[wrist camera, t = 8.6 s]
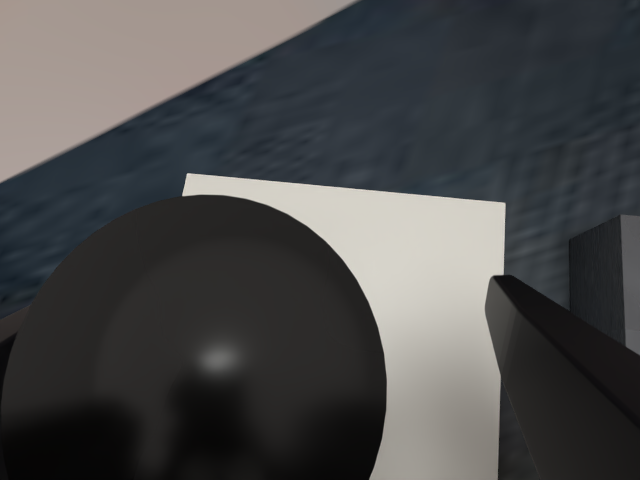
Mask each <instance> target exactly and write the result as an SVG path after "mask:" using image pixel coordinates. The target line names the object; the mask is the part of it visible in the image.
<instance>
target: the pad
mask: <svg viewBox="0 0 640 480" xmlns="http://www.w3.org/2000/svg"><path fill="white" fill-rule="evenodd" d="M201 194H203V195H226V196H233V197H239V198H245V199H249V200H252V201H256V202H259V203H262V204H266V205H269V206H271V207H273V208H275V209H277V210H280V211H282V212H284V213H286V214H288V215H290V216H292V217H293V218H295V219H297V220H298V221H300V222H301V223H303V224H305V225H306V226H308V227H309V228H310V229H311V230H313V231H314V232H315V233H316V234H318V235H319V236H320V237H321V238H322V239H324V240H325V241H326V242H327V243H328V244H329V245H330V246H331V247H332V248H333V250H334V251H335V252H336V253H337V254H338V255H339V256H340V257H341V258H342V259H343V261H344V262H345V263H346V265H347V266H348V268H349V269H350V271H351V272H352V273H353V275H354V276H355V278H356V279H357V281H358V283H359V285H360V286H361V288H362V290H363V292H364V294H365V296H366V298H367V300H368V302H369V304H370V307H371V310H372V312H373V315H374V318H375V320H376V323H377V326H378V329H379V334H380V338H381V342H382V346H383V351H384V357H385V367H386V376H387V403H386V415H385V422H384V429H383V436H382V441H381V444H380V448H379V451H378V455H377V459H376V462H375V466H374V469H373V471H372V474H371V476H370V478H369V480H498V450H499V415H500V379H501V375H500V371H499V368H498V364H497V360H496V356H495V352H494V348H493V344H492V340H491V336H490V332H489V328H488V324H487V320H486V316H485V301H486V295H487V290H488V284H489V280H490V278H491V277H492V276H493V275H503V272H504V236H505V203H500V202H489V201H478V200H467V199H457V198H446V197H435V196H425V195H414V194H403V193H392V192H382V191H371V190H360V189H350V188H339V187H328V186H317V185H307V184H296V183H285V182H274V181H264V180H253V179H242V178H232V177H221V176H210V175H199V174H189V173H187V177H186V182H185V186H184V190H183V195H182V196H190V195H201Z"/></svg>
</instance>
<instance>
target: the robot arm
mask: <svg viewBox="0 0 640 480" xmlns="http://www.w3.org/2000/svg"><path fill="white" fill-rule="evenodd" d="M29 307H30V306H28V307H26V308H24V309H22V310H20V311H18V312H16V313H14V314H11V315H9V316H7V317H5V318H3V319H1V320H0V480H9V479H8V475H7V471H6V467H5V462H4V457H3V448H2V440H1V400H2V392H3V384H4V377H5V373H6V369H7V365H8V360H9V356H10V353H11V350H12V347H13V344H14V341H15V339H16V336H17V333H18V330H19V328H20V326H21V324H22V322H23V320H24V317H25V315H26V313H27V311H28V309H29ZM485 316H486V320H487V324H488V328H489V332H490V336H491V340H492V344H493V348H494V352H495V356H496V360H497V364H498V368H499V371H500V375H501V378H502V381H503V384H504V387H505V389H506V392H507V395H508V397H509V400H510V402H511V405H512V408H513V410H514V413H515V415H516V418H517V421H518V423H519V426H520V428H521V431H522V434H523V436H524V439H525V441H526V444H527V446H528V449H529V452H530V454H531V457H532V459H533V462H534V465H535V467H536V470H537V472H538V475H539V478H540V480H640V355H639V354H637V353H635V352H634V351H632V350H631V349H629V348H627V347H626V346H624V345H623V344H621V343H619V342H618V341H616V340H615V339H613V338H611V337H610V336H608V335H607V334H605V333H603V332H602V331H600V330H599V329H597V328H595V327H594V326H592V325H591V324H589V323H587V322H586V321H584V320H583V319H581V318H579V317H578V316H576V315H575V314H573V313H571V312H570V311H568V310H567V309H565V308H563V307H562V306H560V305H559V304H557V303H555V302H554V301H552V300H551V299H549V298H548V297H546V296H544V295H543V294H541V293H540V292H538V291H536V290H535V289H533V288H532V287H530V286H528V285H527V284H525V283H524V282H522V281H520V280H519V279H517V278H516V277H514V276H512V275H493V276H492V277H491V278H490V280H489V284H488V290H487V295H486V301H485Z"/></svg>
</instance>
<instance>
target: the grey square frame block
mask: <svg viewBox="0 0 640 480" xmlns="http://www.w3.org/2000/svg"><path fill="white" fill-rule="evenodd" d="M570 312H571V313H573V314H575V315H576V316H578V317H579V318H581V319H583V320H584V321H586V322H587V323H589V324H591V325H592V326H594V327H595V328H597V329H599V330H600V331H602V332H603V333H605V334H607V335H608V336H610V337H611V338H613V339H615V340H616V341H618V342H619V343H621V344H623V345H624V346H626V347H627V348H629V349H631V350H632V351H634V352H635V353H637V354H639V355H640V216H630V215H619V216H617V217H615V218H613V219H611V220H609V221H607V222H605V223H602V224H600V225H598V226H596V227H594V228H592V229H590V230H588V231H586V232H584V233H582V234H580V235H578V236H576V237H574V238H572V239H570Z"/></svg>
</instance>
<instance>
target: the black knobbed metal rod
mask: <svg viewBox="0 0 640 480" xmlns="http://www.w3.org/2000/svg"><path fill="white" fill-rule="evenodd" d="M386 403H387V376H386V367H385V357H384V351H383V346H382V342H381V338H380V334H379V329H378V326H377V323H376V320H375V318H374V315H373V312H372V310H371V307H370V304H369V302H368V300H367V298H366V296H365V294H364V292H363V290H362V288H361V286H360V285H359V283H358V281H357V279H356V278H355V276H354V275H353V273H352V272H351V271H350V269H349V268H348V266H347V265H346V263H345V262H344V261H343V259H342V258H341V257H340V256H339V255H338V254H337V253H336V252H335V251H334V250H333V248H332V247H331V246H330V245H329V244H328V243H327V242H326V241H325V240H324V239H322V238H321V237H320V236H319V235H318V234H316V233H315V232H314V231H313V230H311V229H310V228H309V227H308V226H306V225H305V224H303V223H301V222H300V221H298V220H297V219H295V218H293V217H292V216H290V215H288V214H286V213H284V212H282V211H280V210H277V209H275V208H273V207H271V206H269V205H266V204H262V203H259V202H256V201H252V200H249V199H245V198H239V197H233V196H226V195H203V194H201V195H190V196H180V197H175V198H171V199H166V200H162V201H157V202H154V203H152V204H149V205H146V206H143V207H140V208H137V209H135V210H133V211H131V212H129V213H127V214H125V215H123V216H121V217H119V218H117V219H115V220H113V221H111V222H110V223H108V224H107V225H105V226H104V227H102V228H101V229H99V230H97V231H96V232H94V233H93V234H92V235H91V236H90V237H88V238H87V239H86V240H85V241H83V242H82V243H81V244H80V245H79V246H77V247H76V248H75V249H74V250H73V251H72V252H71V253H70V254H69V255H68V256H67V257H66V258H65V259H64V260H63V261H62V262H61V263H60V264H59V265H58V267H57V268H56V269H55V271H54V272H53V273H52V274H51V276H50V277H49V278H48V279H47V281H46V282H45V283H44V285H43V286H42V288H41V289H40V291H39V293H38V294H37V296H36V297H35V299H34V301H33V302H32V304H31V305H30V307H29V309H28V311H27V313H26V315H25V317H24V320H23V322H22V324H21V326H20V328H19V330H18V333H17V336H16V339H15V341H14V344H13V347H12V350H11V353H10V356H9V360H8V365H7V369H6V373H5V377H4V384H3V392H2V400H1V440H2V448H3V457H4V462H5V467H6V471H7V475H8V479H9V480H369V478H370V476H371V474H372V471H373V469H374V466H375V462H376V459H377V455H378V451H379V448H380V444H381V441H382V436H383V429H384V422H385V415H386Z"/></svg>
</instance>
